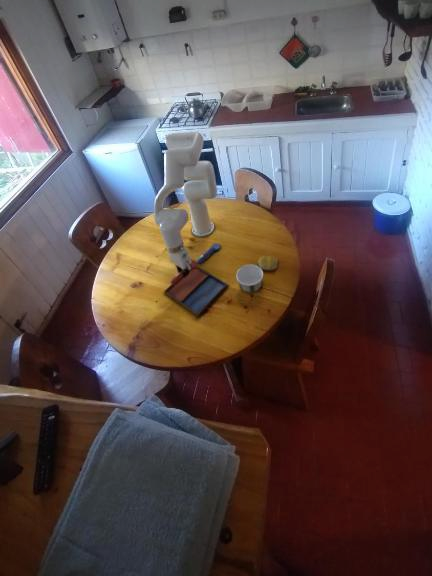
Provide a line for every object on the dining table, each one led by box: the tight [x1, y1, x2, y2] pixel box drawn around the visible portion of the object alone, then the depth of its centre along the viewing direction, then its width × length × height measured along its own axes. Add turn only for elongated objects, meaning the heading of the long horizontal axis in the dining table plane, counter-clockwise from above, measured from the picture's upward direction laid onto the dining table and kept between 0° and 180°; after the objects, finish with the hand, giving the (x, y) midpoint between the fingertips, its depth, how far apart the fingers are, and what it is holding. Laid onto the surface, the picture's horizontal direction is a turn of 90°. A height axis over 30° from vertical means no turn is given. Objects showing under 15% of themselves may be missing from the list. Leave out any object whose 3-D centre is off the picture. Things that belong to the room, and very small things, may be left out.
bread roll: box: [257, 255, 279, 271], centre depth 164 cm, size 8×9×4 cm
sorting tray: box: [163, 265, 229, 318], centre depth 160 cm, size 22×20×2 cm
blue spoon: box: [196, 243, 221, 265], centre depth 176 cm, size 16×4×2 cm, turn 139°
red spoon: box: [170, 260, 199, 285], centre depth 158 cm, size 16×4×2 cm, turn 139°
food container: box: [235, 264, 264, 293], centre depth 156 cm, size 12×12×6 cm
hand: (183, 273), depth 158 cm, fingers closed on red spoon, 2 cm apart
